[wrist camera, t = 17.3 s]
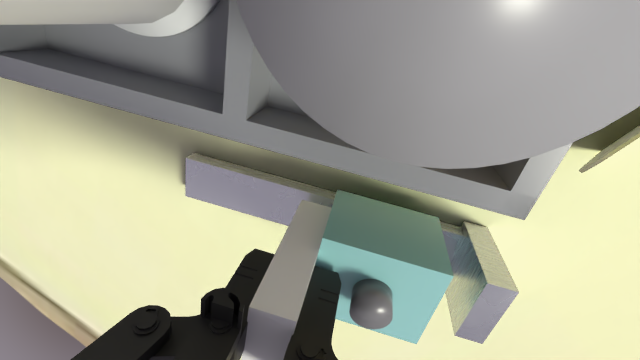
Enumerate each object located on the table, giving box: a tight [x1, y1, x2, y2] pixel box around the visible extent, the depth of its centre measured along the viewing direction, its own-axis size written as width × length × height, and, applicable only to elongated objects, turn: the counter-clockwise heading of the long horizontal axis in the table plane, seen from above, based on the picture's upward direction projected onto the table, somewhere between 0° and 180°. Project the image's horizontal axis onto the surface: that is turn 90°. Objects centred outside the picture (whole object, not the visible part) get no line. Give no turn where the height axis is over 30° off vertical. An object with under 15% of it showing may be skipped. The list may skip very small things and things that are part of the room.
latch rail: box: [186, 153, 519, 344], centre depth 15 cm, size 3×16×4 cm, turn 78°
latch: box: [315, 189, 454, 344], centre depth 14 cm, size 4×5×5 cm
